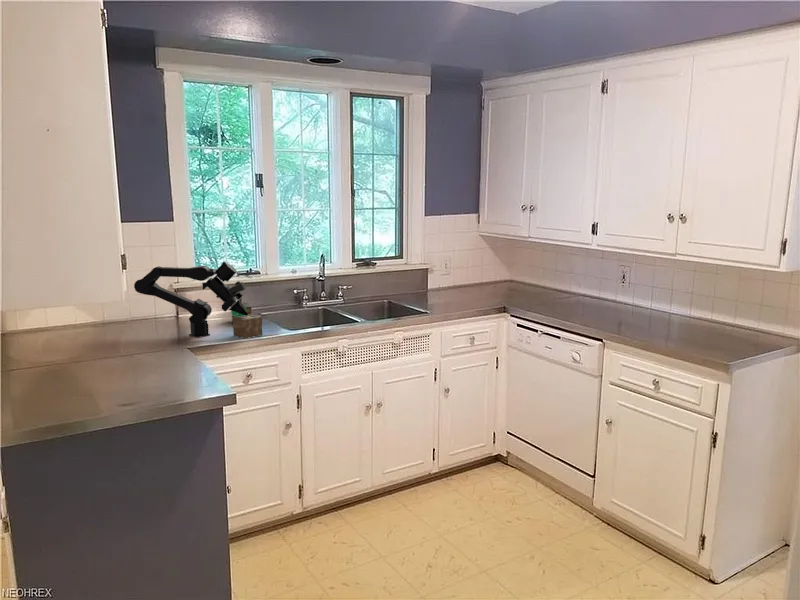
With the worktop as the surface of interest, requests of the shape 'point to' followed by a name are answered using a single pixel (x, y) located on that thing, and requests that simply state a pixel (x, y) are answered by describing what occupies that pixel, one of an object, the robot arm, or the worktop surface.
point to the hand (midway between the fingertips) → (247, 314)
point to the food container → (247, 306)
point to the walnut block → (247, 326)
